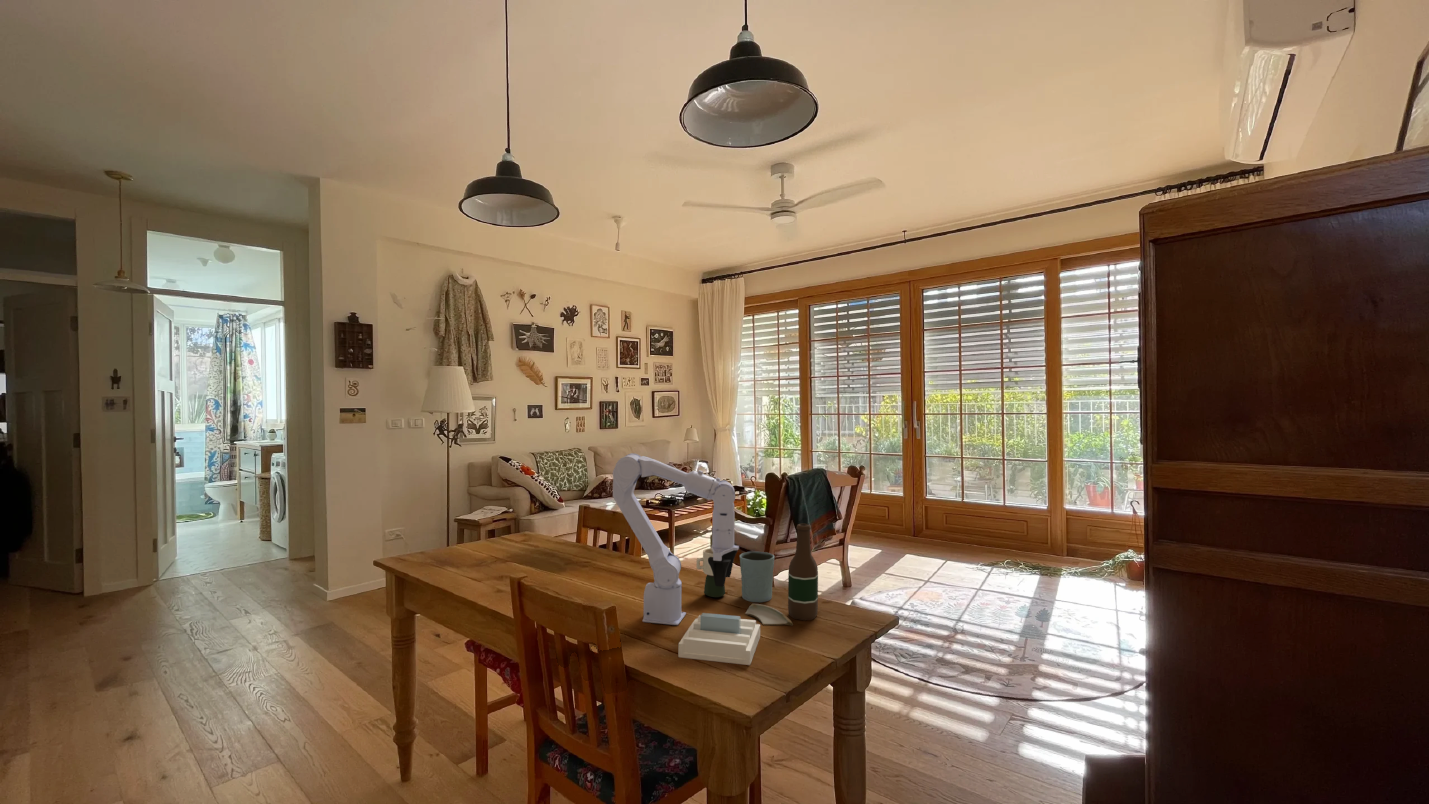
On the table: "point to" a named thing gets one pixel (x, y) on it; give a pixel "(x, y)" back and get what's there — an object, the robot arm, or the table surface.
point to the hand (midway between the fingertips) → (723, 581)
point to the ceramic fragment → (768, 615)
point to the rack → (721, 643)
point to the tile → (720, 623)
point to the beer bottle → (803, 578)
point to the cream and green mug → (709, 576)
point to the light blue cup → (757, 576)
